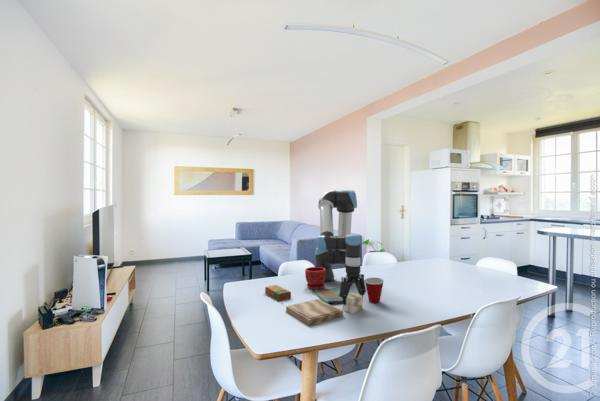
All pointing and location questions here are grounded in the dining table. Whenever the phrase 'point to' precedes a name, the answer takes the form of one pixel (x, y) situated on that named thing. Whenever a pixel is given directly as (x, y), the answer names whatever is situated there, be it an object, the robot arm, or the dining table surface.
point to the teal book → (329, 295)
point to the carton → (278, 292)
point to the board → (314, 311)
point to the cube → (354, 302)
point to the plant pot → (315, 277)
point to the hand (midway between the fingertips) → (352, 308)
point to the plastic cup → (374, 289)
